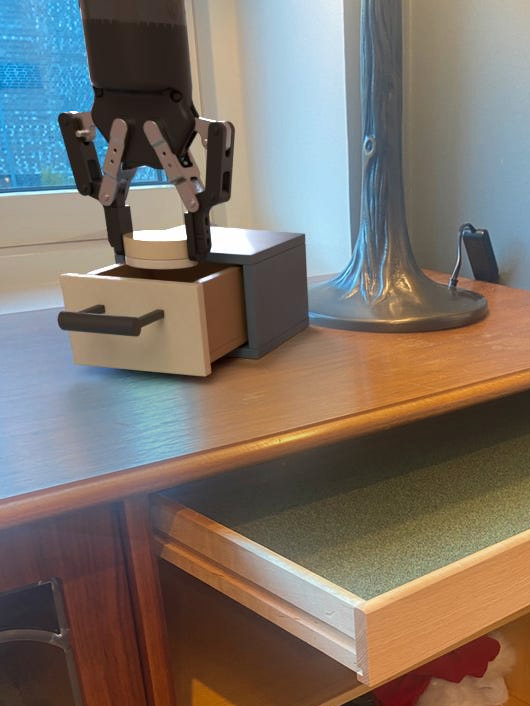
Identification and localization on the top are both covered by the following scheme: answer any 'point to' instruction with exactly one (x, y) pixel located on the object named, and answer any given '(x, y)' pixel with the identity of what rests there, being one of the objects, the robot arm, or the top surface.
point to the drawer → (155, 316)
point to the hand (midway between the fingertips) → (161, 256)
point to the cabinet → (264, 283)
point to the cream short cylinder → (157, 250)
